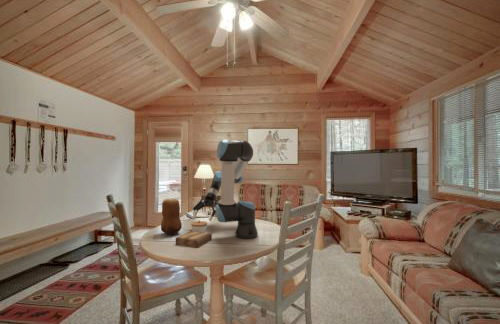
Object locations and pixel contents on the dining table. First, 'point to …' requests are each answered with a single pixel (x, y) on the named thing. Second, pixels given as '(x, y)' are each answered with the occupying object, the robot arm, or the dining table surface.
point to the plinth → (193, 239)
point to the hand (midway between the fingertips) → (201, 219)
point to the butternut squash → (171, 216)
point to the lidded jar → (199, 226)
